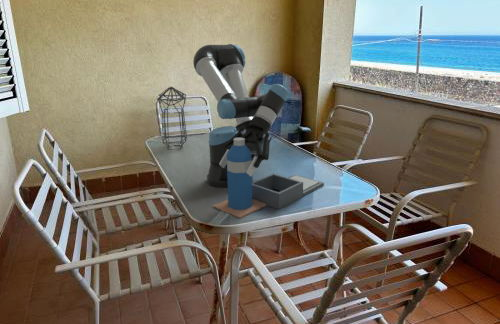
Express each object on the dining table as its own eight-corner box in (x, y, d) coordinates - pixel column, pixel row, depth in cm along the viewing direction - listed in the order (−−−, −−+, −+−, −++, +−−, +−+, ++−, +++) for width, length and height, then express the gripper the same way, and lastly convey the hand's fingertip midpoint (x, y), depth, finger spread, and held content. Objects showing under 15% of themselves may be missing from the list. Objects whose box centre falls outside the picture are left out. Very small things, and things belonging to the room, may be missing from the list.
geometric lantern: (189, 143, 218) (186, 84, 207) (188, 151, 204) (185, 88, 192) (162, 144, 216) (157, 85, 205) (160, 152, 202) (154, 89, 190)
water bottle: (223, 207, 131) (221, 141, 123) (233, 197, 139) (232, 134, 131) (247, 211, 128) (246, 143, 120) (256, 201, 136) (256, 137, 128)
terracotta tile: (213, 206, 133) (213, 205, 133) (239, 195, 143) (239, 194, 143) (240, 218, 124) (240, 216, 124) (266, 205, 134) (266, 203, 134)
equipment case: (248, 198, 140) (248, 183, 138) (294, 177, 162) (295, 164, 160) (279, 209, 131) (279, 193, 129) (323, 185, 152) (324, 171, 150)
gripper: (293, 132, 128) (266, 183, 122) (243, 122, 144) (216, 167, 138) (285, 119, 122) (255, 173, 117) (233, 111, 138) (205, 157, 133)
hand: (234, 170), depth 127 cm, fingers open, 13 cm apart
